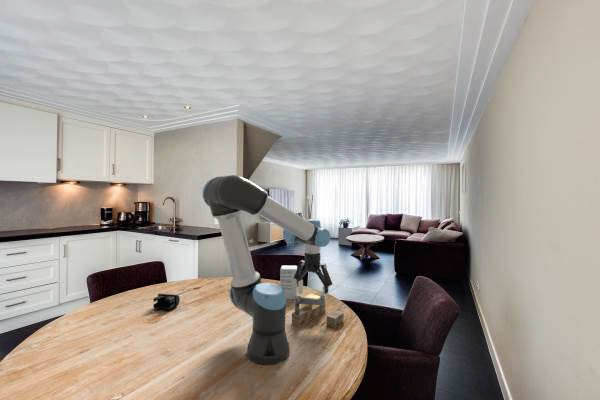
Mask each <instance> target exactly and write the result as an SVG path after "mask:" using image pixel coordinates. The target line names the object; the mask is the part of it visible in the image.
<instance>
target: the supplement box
mask: <svg viewBox="0 0 600 400" xmlns="http://www.w3.org/2000/svg"><path fill="white" fill-rule="evenodd" d="M297 269H298V265H287V264H286V265H281V267H280V271H279V272H280V273H279V276H280V277H279V278H280V280H279V281H280V282H279V285H280V286H281V287H282V288H283V289H284V290H285V295H286V300H292V299H294V296H298V291H297V290H298V289H297V288H298V287H297V279H294V275H295V273H296V271H297Z"/></svg>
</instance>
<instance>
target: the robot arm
mask: <svg viewBox="0 0 600 400" xmlns="http://www.w3.org/2000/svg"><path fill="white" fill-rule="evenodd" d="M201 194H202V199H203V202H204V203H205V204H206V205H207V206H208V207H209V209H210V213H211V215H212V217H213V218H214V219H216V220H217V221H218V225H219V230H220V232H221V233H220V234H221V237H222V241H223V244H224V248H225V252H226V255H227V260H228V263H229V266H230V271H231V274H232V279H231V280H230V289H229V292H228V293H229V299H230V302H231V304H233V305H234V307H235V308H237V309H238V310H240V311H242V312H244V313H245V314H247V315H249V316H250V317H252V332H251V335H250V338H249V341H248V344H247V347H246V352H247V353H246V356H247V358H248V359H249V361H251V362H253V363H256V364H258V363H259V365H274V364H273V363H275V364H278V362H279V363H280V361H281V362H283V361H285V360H286V359H287V358H288V357H289V356H290V350H291V349H290V342H289V341H288V337H287V333H286V313H287V312H286V307H287V299H286V295H285V290H284V289H283V288H282V287H281V286H280V284H277V283H272V282H262V279H261V274H260V273H259V272H258V271H256V270H255V266H254V263H253V262H254V261H253V259H252V255H251V249H250V247H249V243H248V239H247V234H246V230H245V226H244V222H243V217H242V212H245V213H248V214H250V215H252V216H255V215H258V216H259V217H261V218H263V219H265V220H266V221H268V222H271V223H272V224H274V225H276V226H278V227H279V228H281V229H283V230H282V237H283V239H284V241H285V242H286V243H287V244H288V243H289V244H293V243H299V244H304V259H302V260H299V261H298V265H297V271H296V273H295V275H294V279H297V288H298V289H297V290H298V291H297V296H301V295H302V294H304V280H303V278H304V277H305V276H306V274H307V273H308V272H309V273H314V274H315V275H316V276H317V277H318V278H319V280H320V281H321V283H322V285H323V286H322V296H325V301H326V300H328V293H329V287H330V286H333V281H332V279H331V277H330V274H329V271H328V269H327V264H326V263H322V264H321V248H324V247H327V246H328V245H329V243H330V241H331V234H330V231H329V230H328V229H327V228H324V227H321V226H322V225H321V221H320V220H319V219H315V218H314V219H311V218H310V219H309V218H308V219H305V217H302V216H300V215H299V214H297V213H296V212H294V211H293V210H291V209H289V208H288V207H286V206H285V205H284V204H282V203H280V202H279V201H276V200H275V199H274V198H272V197H271V196H269V193H268V192H267V190H265V189H263V188H262V187H260V186H259V185H257V184H255V183H254V182H253V181H251V180H249V179H247V178H246V177H243V176H240V175H236V174H235V175H233V174H231V175H225V176H224V175H223V176H222V175H221V176H217V177H213V178H211V179H209V180H208V181H207V182H205V184H204V186H203V189H202V193H201ZM304 266H305V267H304ZM303 268H304V269H303ZM288 355H289V356H288ZM284 359H285V360H284Z"/></svg>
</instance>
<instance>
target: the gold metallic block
mask: <svg viewBox="0 0 600 400" xmlns="http://www.w3.org/2000/svg"><path fill="white" fill-rule="evenodd" d="M303 297H304V298H320V296H318V294H314V293H309V294H308V295H306V296H303ZM300 305H301V306H300V308H307V309H310V310H313V309H315V308H317V307H318V306H320V305H308V304H300Z"/></svg>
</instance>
